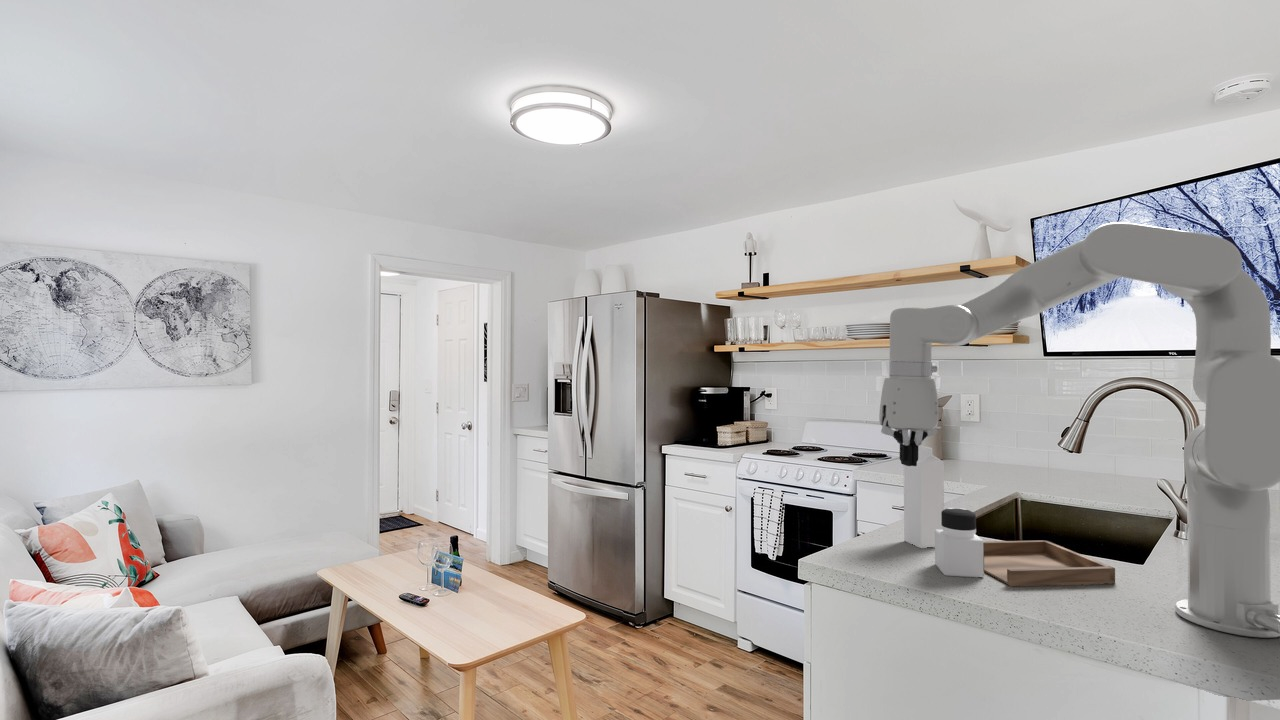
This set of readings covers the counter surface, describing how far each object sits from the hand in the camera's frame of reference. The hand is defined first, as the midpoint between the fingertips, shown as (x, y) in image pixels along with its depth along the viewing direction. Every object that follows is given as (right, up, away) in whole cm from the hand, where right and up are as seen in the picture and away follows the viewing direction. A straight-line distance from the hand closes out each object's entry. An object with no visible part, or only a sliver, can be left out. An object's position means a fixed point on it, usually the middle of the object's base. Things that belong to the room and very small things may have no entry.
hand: (908, 464), depth 122 cm
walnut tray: (+24, -21, +1) cm, 32 cm away
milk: (+11, -21, +18) cm, 30 cm away
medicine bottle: (+10, -21, 0) cm, 23 cm away
